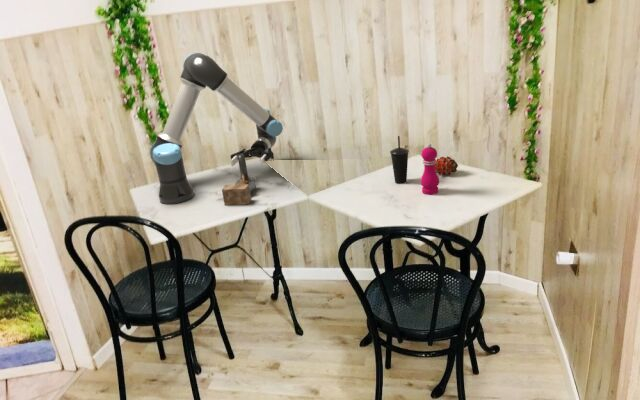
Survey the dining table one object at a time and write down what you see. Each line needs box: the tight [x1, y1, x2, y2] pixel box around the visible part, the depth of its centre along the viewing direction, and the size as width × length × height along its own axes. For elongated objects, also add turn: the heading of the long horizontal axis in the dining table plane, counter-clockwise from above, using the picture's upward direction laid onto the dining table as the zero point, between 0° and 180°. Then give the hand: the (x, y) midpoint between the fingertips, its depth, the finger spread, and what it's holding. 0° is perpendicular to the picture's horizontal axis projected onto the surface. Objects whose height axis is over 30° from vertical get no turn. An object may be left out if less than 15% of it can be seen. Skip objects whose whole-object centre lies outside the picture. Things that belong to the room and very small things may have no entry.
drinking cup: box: [389, 135, 410, 185], centre depth 217 cm, size 8×8×20 cm
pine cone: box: [435, 156, 459, 177], centre depth 223 cm, size 8×8×12 cm
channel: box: [234, 176, 257, 197], centre depth 228 cm, size 7×10×5 cm
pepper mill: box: [420, 143, 440, 196], centre depth 204 cm, size 7×7×20 cm
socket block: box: [221, 184, 252, 206], centre depth 218 cm, size 10×5×7 cm, turn 80°
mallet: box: [236, 154, 252, 185], centre depth 222 cm, size 4×15×15 cm, turn 170°
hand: (246, 162), depth 227 cm, fingers open, 13 cm apart
